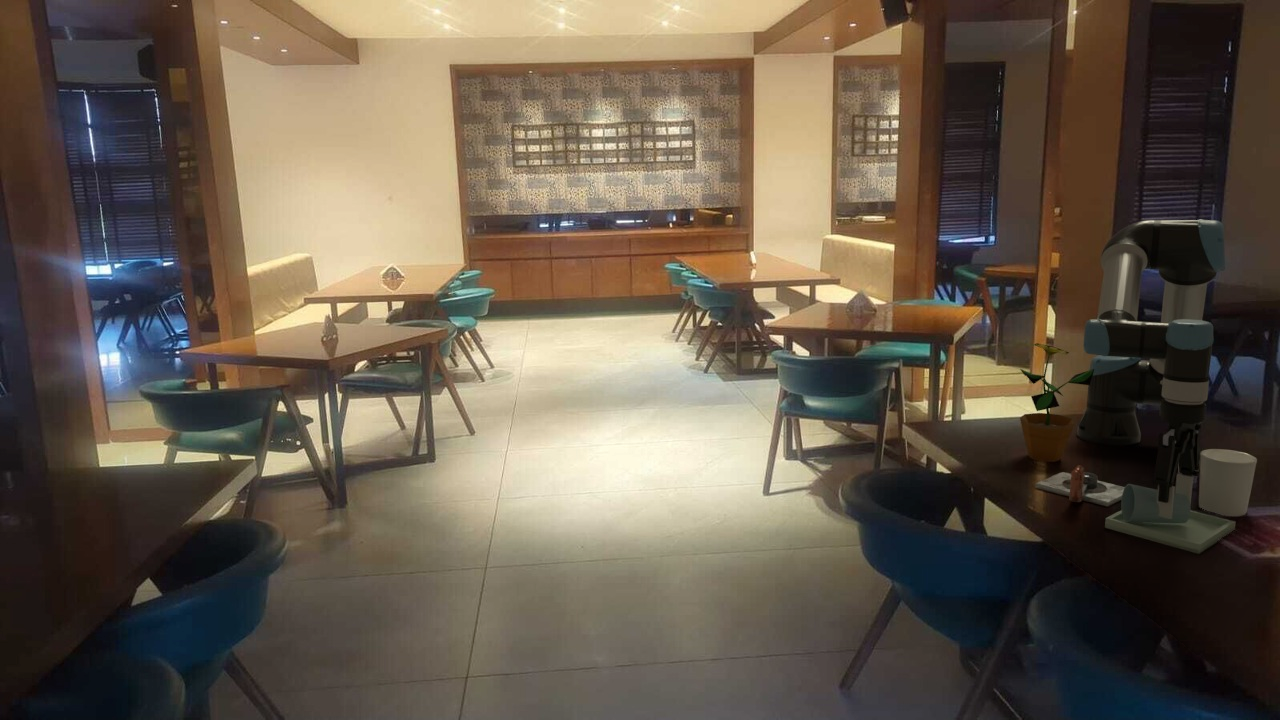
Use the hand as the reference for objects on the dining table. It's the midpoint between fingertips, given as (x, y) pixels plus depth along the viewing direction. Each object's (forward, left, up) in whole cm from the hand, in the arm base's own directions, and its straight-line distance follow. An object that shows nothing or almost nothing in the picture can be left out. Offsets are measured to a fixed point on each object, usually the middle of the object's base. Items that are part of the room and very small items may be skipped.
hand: (1173, 511), depth 170 cm
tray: (0, 0, -4) cm, 4 cm away
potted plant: (-26, -40, -4) cm, 48 cm away
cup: (-1, 0, -4) cm, 4 cm away
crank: (-9, -22, -3) cm, 24 cm away
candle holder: (-19, +2, -4) cm, 20 cm away
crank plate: (-9, -22, -4) cm, 24 cm away
